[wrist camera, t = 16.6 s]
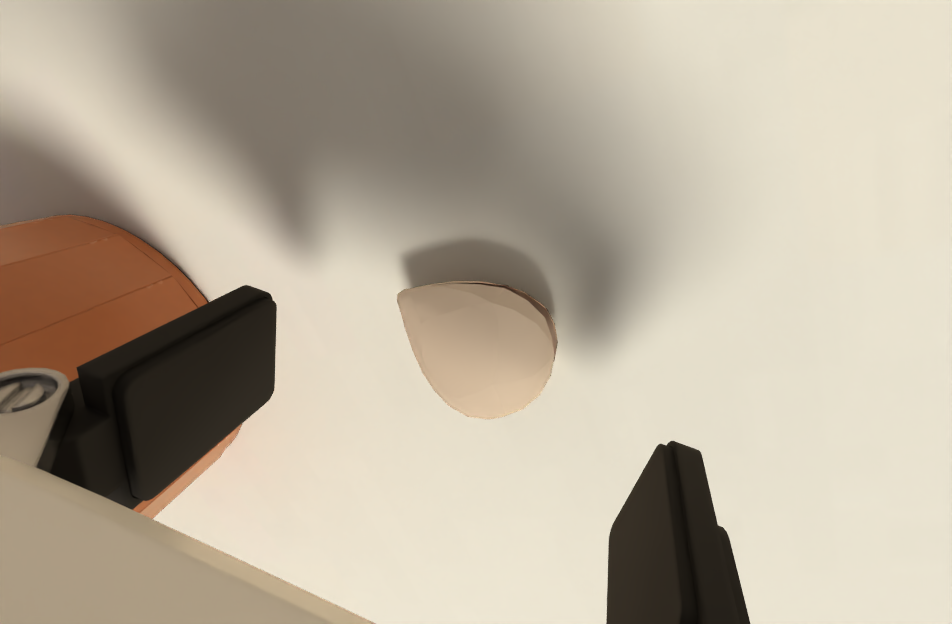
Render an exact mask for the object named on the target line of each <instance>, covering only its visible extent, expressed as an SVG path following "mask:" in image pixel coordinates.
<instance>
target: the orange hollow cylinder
mask: <svg viewBox="0 0 952 624" xmlns="http://www.w3.org/2000/svg"><path fill="white" fill-rule="evenodd" d="M207 303H208V302H207V301H206V299H205V298H204V297H203V296H202V294H201V293H200V292H199V291H198V290H197V288H196V287H195V286H194V285H193V284H192V282H191V281H190V280H189V279H188V278H187V277H186V276H185V275H184V274H183V273H182V272H181V271H180V270H179V269H178V268H177V267H176V266H175V265H174V264H173V263H171V262H170V261H169V260H168V259H167V258H165V257H164V256H163V255H162V254H161V253H159V252H158V251H157V250H155V249H154V248H153V247H151V246H150V245H148V244H147V243H145V242H144V241H143V240H141V239H140V238H138V237H136V236H134V235H132V234H131V233H129V232H127V231H125V230H123V229H121V228H119V227H117V226H114V225H112V224H109V223H107V222H105V221H101V220H97V219H94V218H90V217H86V216H78V215H55V216H51V217H46V218H41V219H34V220H27V221H20V222H16V223H11V224H6V225H1V226H0V373H2V372H6V371H10V370H14V369H23V368H47V369H52V370H57V371H59V372H60V373H62V374H64V375H65V376H66V377H67V379H68V380H69V382H71V381H73V380H75V379H77V378H79V377H78V372H77V368H76V367H78V366H80V365H82V364H84V363H87V362H89V361H91V360H93V359H95V358H97V357H99V356H101V355H103V354H105V353H107V352H109V351H111V350H113V349H115V348H117V347H119V346H121V345H123V344H125V343H127V342H129V341H131V340H133V339H136V338H138V337H140V336H142V335H144V334H146V333H148V332H150V331H152V330H154V329H156V328H158V327H160V326H162V325H164V324H166V323H168V322H170V321H172V320H174V319H176V318H178V317H180V316H182V315H185V314H187V313H189V312H191V311H193V310H195V309H197V308H199V307H201V306H203V305H205V304H207ZM241 425H242V424H240V425H239V426H238V427H237V428H236V429H235V430H233V431H232V432H231V433H230V434H229V435H228V436H226V437H225V438H224V439H223V440H222V441H221V442H219V443H218V444H217V445H216V446H215V447H213V448H212V449H211V450H210V451H209V452H208V453H206V454H205V455H204V456H203V457H202V458H201V459H199V460H198V461H197V462H196V463H195V464H193V465H192V466H191V467H190V468H189V469H188V470H186V471H185V472H184V473H183V474H182V475H181V476H179V477H178V478H177V479H176V480H175V481H173V482H172V483H171V484H170V485H169V486H168V487H166V488H165V489H164V490H163V491H162V492H161V493H159V494H158V495H157V496H156V497H154V498H153V499H151V500H149V501H142V502H141V503H140V504H139V505H138V506H136V507H135V508H134V509H133V511H135V512H138V513H140V514H142V515H144V516H146V517H148V518H151V519H153V518H154V517H155V516H156V515H157V514H158V513H159V512H160V511H162V510H163V509H164V508H165V507H166V506H167V505H168V504H169V503H170V502H171V501H172V500H174V499H175V498H176V497H177V496H178V495H179V494H180V493H181V492H182V491H183V490H185V489H186V488H187V487H188V486H189V485H190V484H191V483H192V482H193V481H194V480H195V479H197V478H198V477H199V476H200V475H201V474H202V473H203V472H204V471H205V470H206V469H208V468H209V467H210V466H211V465H212V464H213V463H214V462H215V461H216V460H217V459H219V458H220V457H221V455H222V453H223V452H224V450H225V449H226V448H227V447H228V446H229V445H230V444H231V443H232V441H233V440H234V439H235V437H236V436H237V434H238V432H239V430H240V427H241ZM105 498H106V497H105Z"/></svg>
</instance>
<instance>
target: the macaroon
mask: <svg viewBox="0 0 952 624" xmlns="http://www.w3.org/2000/svg"><path fill="white" fill-rule="evenodd" d="M397 302H398V305H399V308H400V311H401V314H402V318H403V322H404V326H405V329H406V332H407V335H408V338H409V341H410V344H411V347H412V350H413V352H414V355H415V357H416V359H417V361H418V364H419V366H420V368H421V370H422V372H423V374H424V376H425V377H426V379H427V380H428V382H429V383H430V385H431V386H432V388H433V389H434V391H435V392H436V393H437V394H438V395H439V396H440V397H441V398H442V399H443V400H444V402H445V403H446V404H447V405H448V406H450V407H452V408H453V409H455V410H457V411H459V412H460V413H462V414H464V415H466V416H467V417H474V418H482V419H494V418H499V417H503V416H506V415H509V414H512V413H514V412H517V411H519V410H522V409H524V408H525V407H526V406H527V405H528V404H530V403H531V402H532V401H533V400H534V399H536V398H537V397H538V396H539V395H540V394H541V392H542V390H543V388H544V387H545V385H546V383H547V381H548V379H549V378H550V376H551V372H552V366H553V362H554V359H555V354H556V348H557V343H558V342H557V335H556V329H555V324H554V322H553V320H552V318H551V316H550V314H549V312H548V310H547V309H546V308H545V307H544V305H542V304H541V303H539V302H538V301H537V300H535V299H534V298H532V297H531V296H530V295H528V294H527V293H525V292H524V291H521V290H517V289H514V288H512V287H509V286H507V285H499V284H494V283H488V282H483V281H452V282H444V283H436V284H429V285H424V286H419V287H414V288H410V289H405V290H403V291H401V292H400V293H398V296H397Z"/></svg>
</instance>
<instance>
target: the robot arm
mask: <svg viewBox="0 0 952 624" xmlns="http://www.w3.org/2000/svg"><path fill="white" fill-rule="evenodd" d="M275 346H276V303H275V302H274V301H272V296H271V294H269V293H268V292H265V291H262V290H260V289H257V288H254V287H251V286H248V285H245V286H242V287H240V288H238V289H236V290H234V291H231V292H229V293H227V294H225V295H223V296H221V297H219V298H217V299H215V300H213V301H211V302H209V303H207V304H205V305H203V306H201V307H199V308H197V309H195V310H193V311H191V312H189V313H187V314H185V315H182V316H180V317H178V318H176V319H174V320H172V321H170V322H168V323H166V324H164V325H162V326H160V327H158V328H156V329H154V330H152V331H150V332H148V333H146V334H144V335H142V336H140V337H138V338H136V339H133V340H131V341H129V342H127V343H125V344H123V345H121V346H119V347H117V348H115V349H113V350H111V351H109V352H107V353H105V354H103V355H101V356H99V357H97V358H95V359H93V360H91V361H89V362H87V363H84V364H82V365H80V366H78V367H76V368H77V372H78V377H79V378H77V379H75V380H73V381H71V382H69V380H68V379H67V377H66V376H65V375H64V374H62V373H60V372H59V371H57V370H52V369H47V368H23V369H14V370H10V371H6V372H2V373H0V624H375V623H373V622H371V621H369V620H367V619H365V618H363V617H361V616H359V615H356V614H354V613H352V612H350V611H348V610H346V609H344V608H342V607H339V606H337V605H335V604H333V603H331V602H329V601H327V600H325V599H322V598H320V597H318V596H316V595H314V594H312V593H310V592H308V591H305V590H303V589H301V588H299V587H297V586H295V585H293V584H290V583H288V582H286V581H284V580H282V579H280V578H278V577H276V576H273V575H271V574H269V573H267V572H265V571H263V570H261V569H258V568H256V567H254V566H252V565H250V564H248V563H246V562H243V561H241V560H239V559H237V558H235V557H233V556H231V555H228V554H226V553H224V552H222V551H220V550H218V549H216V548H213V547H211V546H209V545H207V544H205V543H203V542H200V541H198V540H196V539H194V538H192V537H190V536H187V535H185V534H183V533H181V532H179V531H177V530H174V529H172V528H170V527H168V526H166V525H164V524H161V523H159V522H157V521H155V520H153V519H151V518H148V517H146V516H144V515H142V514H140V513H138V512H135V511H133V509H134V508H135V507H136V506H138V505H139V504H140V503H141V502H142V501H149V500H151V499H153V498H154V497H156V496H157V495H158V494H159V493H161V492H162V491H163V490H164V489H165V488H166V487H168V486H169V485H170V484H171V483H172V482H173V481H175V480H176V479H177V478H178V477H179V476H181V475H182V474H183V473H184V472H185V471H186V470H188V469H189V468H190V467H191V466H192V465H193V464H195V463H196V462H197V461H198V460H199V459H201V458H202V457H203V456H204V455H205V454H206V453H208V452H209V451H210V450H211V449H212V448H213V447H215V446H216V445H217V444H218V443H219V442H221V441H222V440H223V439H224V438H225V437H226V436H228V435H229V434H230V433H231V432H232V431H233V430H235V429H236V428H237V427H238V426H239V425H240V424H242V423H243V422H244V421H245V420H246V419H248V418H249V417H250V416H251V415H252V414H253V413H255V412H256V411H257V410H258V409H259V408H260V407H262V406H263V405H264V404H265V403H266V402H267V401H268V400H269V399H270V398H271V396H272V394H273V391H274V384H275ZM105 497H106V498H105ZM607 624H750V621H749V617H748V613H747V608H746V604H745V600H744V596H743V592H742V588H741V584H740V580H739V576H738V572H737V568H736V564H735V560H734V556H733V552H732V548H731V544H730V540H729V537H728V534H727V532H726V531H725V529H724V528H723V527H721V526H718V525H717V520H716V516H715V511H714V507H713V503H712V498H711V494H710V489H709V485H708V481H707V476H706V472H705V467H704V463H703V459H702V455H701V452H700V451H699V450H696V449H694V448H691V447H688V446H686V445H683V444H680V443H677V442H675V441H670V442H669V443H668V444H667V446H666V445H663V444H659V445H658V446H657V447H656V449H655V451H654V452H653V454H652V456H651V458H650V460H649V461H648V463H647V465H646V467H645V468H644V470H643V472H642V474H641V475H640V477H639V479H638V481H637V483H636V484H635V486H634V488H633V490H632V491H631V493H630V495H629V497H628V498H627V500H626V502H625V504H624V506H623V507H622V509H621V511H620V513H619V514H618V516H617V518H616V520H615V521H614V523H613V525H612V528H611V532H610V536H609V555H608V591H607Z"/></svg>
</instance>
